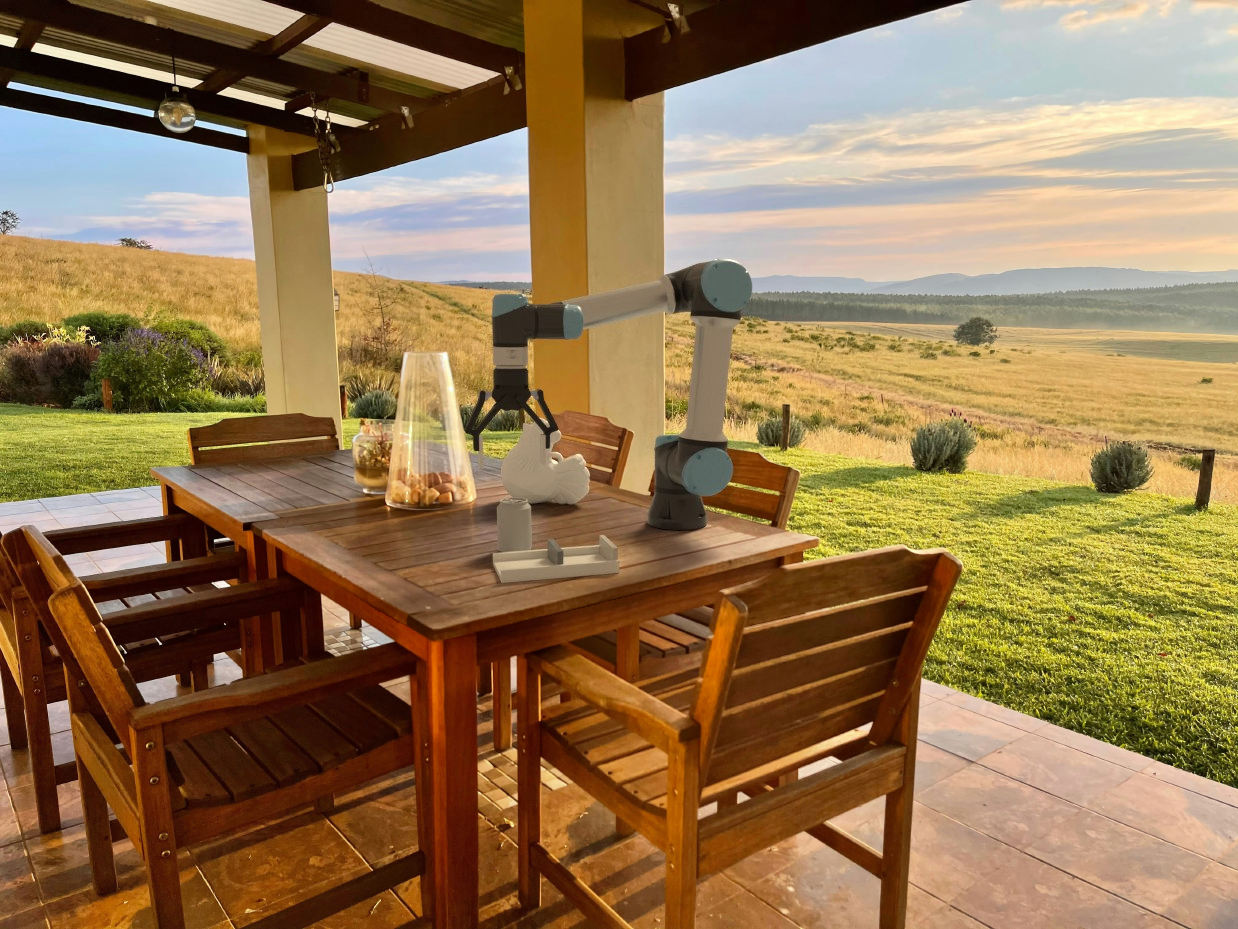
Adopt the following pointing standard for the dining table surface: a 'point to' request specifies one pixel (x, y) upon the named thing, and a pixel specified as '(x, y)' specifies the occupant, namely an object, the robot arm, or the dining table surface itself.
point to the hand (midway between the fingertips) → (512, 464)
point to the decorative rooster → (543, 470)
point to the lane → (574, 564)
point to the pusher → (554, 552)
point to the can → (514, 525)
